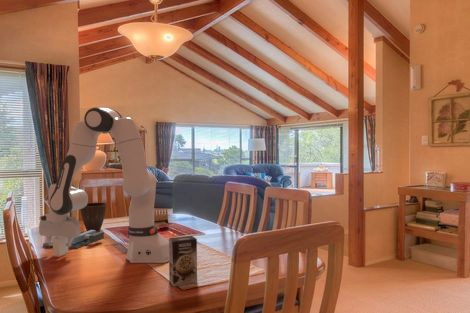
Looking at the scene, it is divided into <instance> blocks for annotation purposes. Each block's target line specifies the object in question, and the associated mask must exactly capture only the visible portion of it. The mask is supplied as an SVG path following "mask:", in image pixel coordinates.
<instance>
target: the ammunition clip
mask: <svg viewBox="0 0 470 313" xmlns="http://www.w3.org/2000/svg"><path fill="white" fill-rule="evenodd" d="M168 213H169V212H168V208H163V209H161V208H160V209H157V210H156V209H154V224H162V225H163V223H168V224H169V214H168Z"/></svg>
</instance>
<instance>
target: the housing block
mask: <svg viewBox="0 0 470 313" xmlns="http://www.w3.org/2000/svg"><path fill="white" fill-rule="evenodd" d="M66 243H68V237H57V238H54V239H53V247H52V257H58V258H59V257H62V256H64V255H65V256H66V255H67V254H69V248H68V247H67V246H66Z"/></svg>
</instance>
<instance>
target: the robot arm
mask: <svg viewBox="0 0 470 313" xmlns="http://www.w3.org/2000/svg"><path fill="white" fill-rule="evenodd" d="M110 133H111V134H112V135H113V137H114V140H115V143H116V147H117V150H118V154H119V158H120V161H121V168H122V170H121V171H122V178H123V183H122V188H123V191H124V192H125V193H126V194H127V196H130V198H131V199H130V204H129V207H128V227H127V235H128V247H127V252H126V257H125V259H126V260H127V261H129V263H130V264H164V263H167V262H168V263H169V239H166V238H165V237H164V236H162V234H161V233H159V230H160V228H159V227H156V226H155V224H154V211H155V201H156V194H157V193H156V191H157V190H156V188H157V180H158V179H157V177H156V175H155V174H154V173H153V172H152V171H150V170H148V167H147V154H146V150H145V147H144V143H143V141H142V137H141V133H140V131H139V128H138V126H137V124H136V122H135V120H134V119H133V118H131V117H127V116H126V117H123V116H122V115H121V114H120V113H119V112H118V111H117V110H114V109H111V108H108V107H99V106H96V107H92V108H89V109H88V110H87V111H86V112H85V114H84V118H83V119H81V120H78V121H77V122H76V123H75V125H74V128H73V130H72V135H71V138H70V144H69V148H68V151H67V154H66V156H65V158H63V160H62V163H61V166H60V168H59V171H58V177H57V180H56V182H55V183H52V184H51V185H50V186H49V189H48V204H49V209H48V213H46V214H44V215H43V214H42V215H40V216H39V221H40V222H39V224H38V232H39V236H42V237H46V240H47V242H49V245H51V246H52V245H53V240H52V238H51V237H52V236H55V237H68V240H69V241H68V243H66V246H67V247H70V246H71V242H72V240H73V239H74V238H76V237H78V236H80V234H81V232H82V231H81V226H80V220H79V219H78V218H77V217H76V216H71V213H72V212H75V211H80V209H82V208H84V207H86V206H87V204H88V203H89V200H90V199H89V195H88V193H87V192H86V190H85V189H82V188H77V187H75V186H73V181H74V179H75V178H74V177H75V174H76V173H77V171H79V170H80V169H81V168H82V167H83V166H85V165H86V166H87V164H89V163H91V162H92V161H93V159H94V158H95V156H96V151H97V145H98V140H99V139H98V138H99V136H100V135H101V134H103V135H104V134H110Z"/></svg>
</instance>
